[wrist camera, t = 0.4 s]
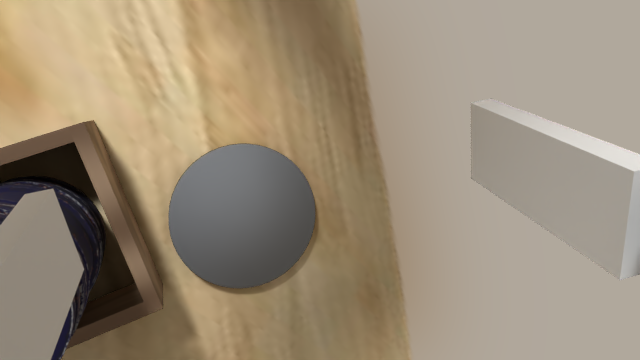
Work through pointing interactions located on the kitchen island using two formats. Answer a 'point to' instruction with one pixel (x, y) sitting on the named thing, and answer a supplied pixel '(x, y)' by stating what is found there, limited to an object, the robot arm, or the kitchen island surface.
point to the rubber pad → (241, 215)
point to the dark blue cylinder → (83, 230)
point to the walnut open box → (148, 284)
